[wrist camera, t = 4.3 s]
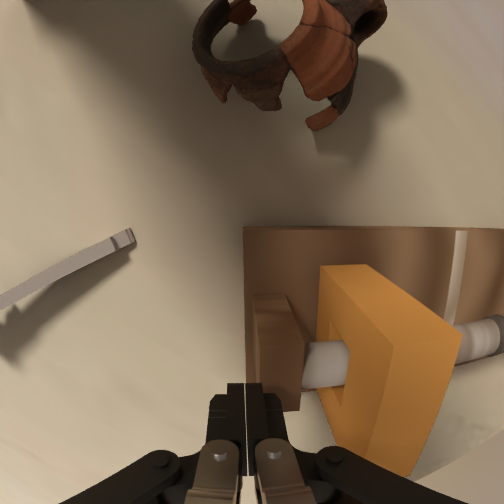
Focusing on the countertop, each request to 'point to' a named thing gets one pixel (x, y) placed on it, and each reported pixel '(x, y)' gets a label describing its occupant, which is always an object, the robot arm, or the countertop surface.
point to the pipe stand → (384, 262)
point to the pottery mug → (293, 54)
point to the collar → (383, 365)
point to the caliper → (67, 267)
